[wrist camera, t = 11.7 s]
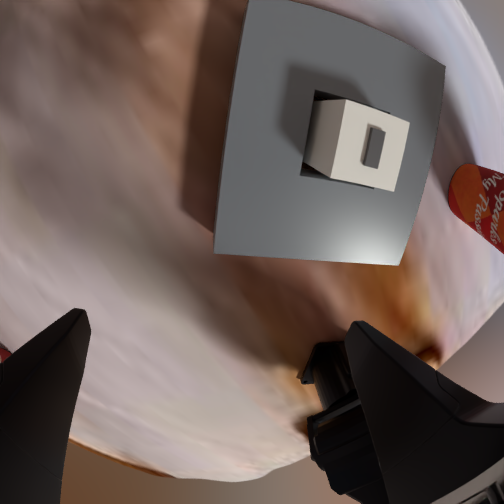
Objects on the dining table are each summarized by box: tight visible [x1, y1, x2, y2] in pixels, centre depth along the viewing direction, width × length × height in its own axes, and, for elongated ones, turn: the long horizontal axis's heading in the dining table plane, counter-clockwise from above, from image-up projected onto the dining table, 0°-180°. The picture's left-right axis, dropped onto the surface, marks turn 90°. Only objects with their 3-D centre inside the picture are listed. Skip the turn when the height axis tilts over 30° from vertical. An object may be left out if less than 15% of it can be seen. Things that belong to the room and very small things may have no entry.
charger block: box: [302, 99, 410, 192], centre depth 15 cm, size 4×4×6 cm
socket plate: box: [213, 0, 446, 265], centre depth 16 cm, size 16×14×3 cm
